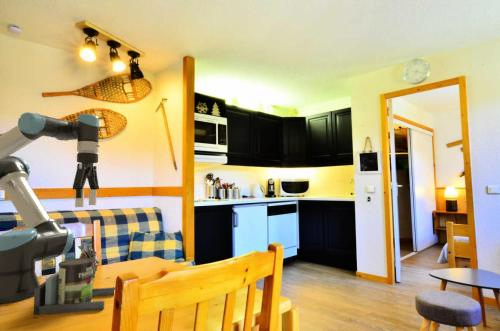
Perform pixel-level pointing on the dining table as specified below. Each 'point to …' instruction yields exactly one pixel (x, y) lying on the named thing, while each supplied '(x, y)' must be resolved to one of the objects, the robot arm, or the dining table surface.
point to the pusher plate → (52, 289)
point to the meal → (89, 253)
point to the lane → (68, 307)
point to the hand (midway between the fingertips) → (86, 206)
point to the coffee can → (75, 280)
